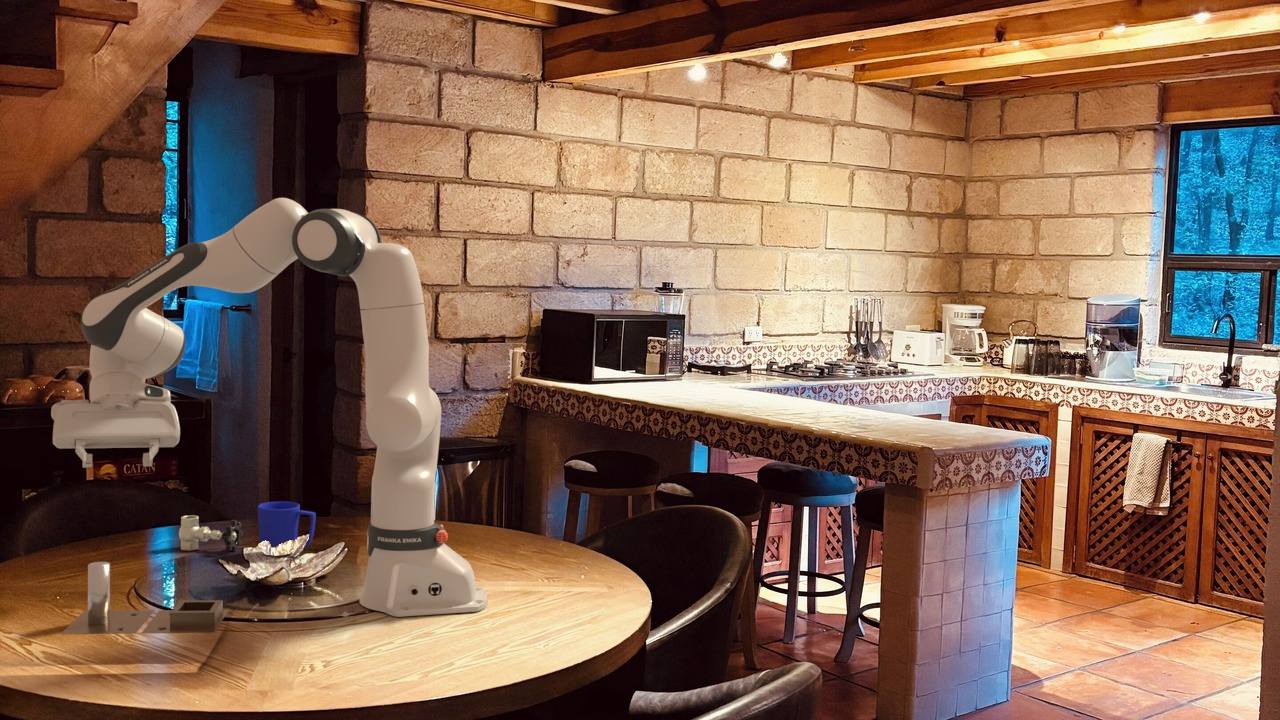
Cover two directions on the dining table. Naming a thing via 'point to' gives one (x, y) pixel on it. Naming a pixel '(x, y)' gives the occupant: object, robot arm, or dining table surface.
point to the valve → (207, 534)
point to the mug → (282, 522)
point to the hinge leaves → (157, 620)
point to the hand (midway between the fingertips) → (117, 465)
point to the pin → (98, 593)
